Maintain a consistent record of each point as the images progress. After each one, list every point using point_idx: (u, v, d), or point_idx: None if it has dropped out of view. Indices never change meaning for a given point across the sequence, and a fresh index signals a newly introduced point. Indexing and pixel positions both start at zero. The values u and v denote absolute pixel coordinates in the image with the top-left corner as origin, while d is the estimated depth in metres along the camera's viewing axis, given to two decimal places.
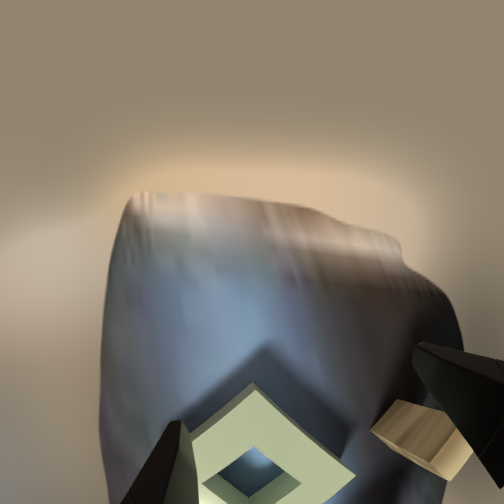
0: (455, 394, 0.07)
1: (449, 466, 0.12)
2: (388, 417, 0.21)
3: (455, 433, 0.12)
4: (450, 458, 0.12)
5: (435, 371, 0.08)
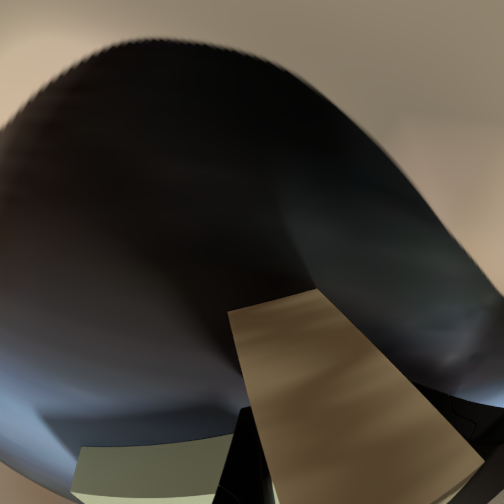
0: None
1: None
2: None
3: None
4: None
5: None
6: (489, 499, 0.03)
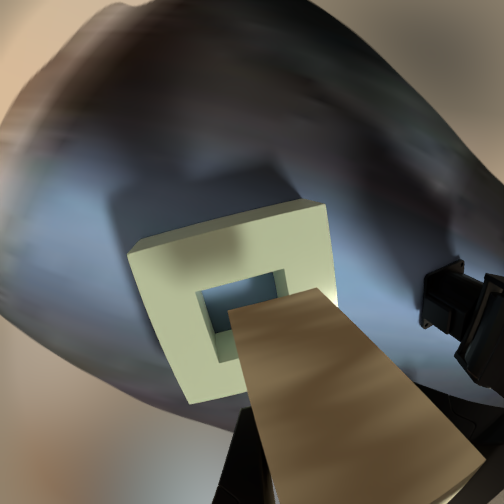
0: None
1: None
2: None
3: None
4: None
5: None
6: (489, 499, 0.03)
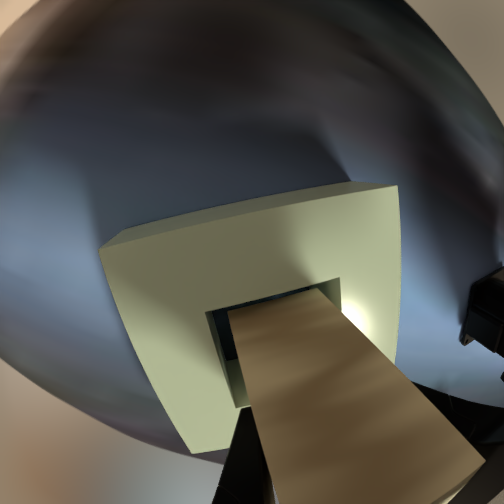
0: None
1: None
2: None
3: None
4: None
5: None
6: (489, 499, 0.03)
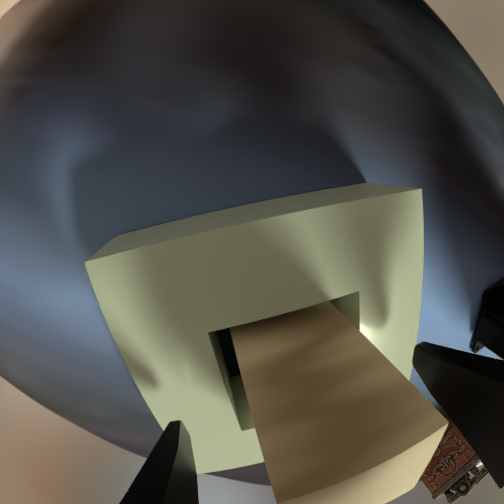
0: (455, 394, 0.07)
1: None
2: None
3: None
4: None
5: (435, 371, 0.08)
6: None
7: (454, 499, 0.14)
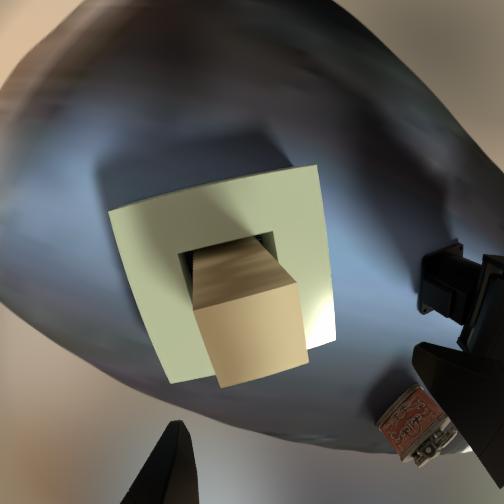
0: (455, 394, 0.07)
1: (271, 360, 0.11)
2: None
3: (209, 337, 0.11)
4: (255, 356, 0.11)
5: (435, 371, 0.08)
6: None
7: (421, 461, 0.21)
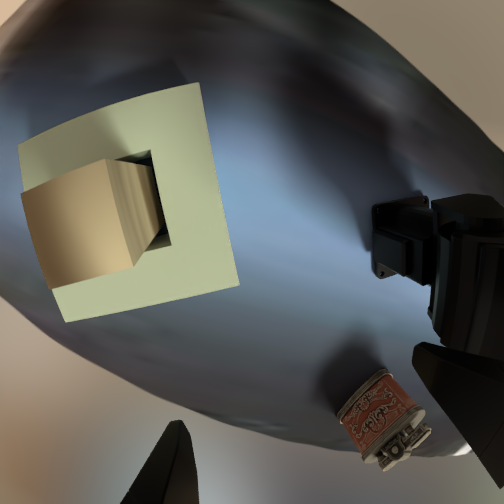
0: (455, 394, 0.07)
1: (89, 257, 0.09)
2: None
3: (32, 223, 0.08)
4: (72, 250, 0.09)
5: (435, 371, 0.08)
6: None
7: (386, 463, 0.19)
